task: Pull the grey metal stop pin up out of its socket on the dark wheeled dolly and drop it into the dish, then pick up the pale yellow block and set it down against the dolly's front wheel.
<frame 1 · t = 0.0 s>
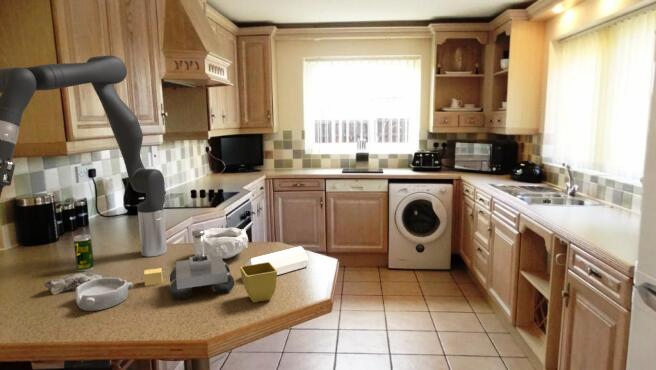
bowl: (221, 258, 155), on the worktop
flower pot: (259, 299, 118), on the worktop
pin: (200, 266, 124), point 7 cm above the worktop, touching dolly
dolly: (201, 288, 126), on the worktop
dish: (103, 302, 118), on the worktop
mineral rock: (75, 288, 128), on the worktop
white faceted prism: (277, 272, 139), on the worktop
pale yellow block: (153, 283, 131), on the worktop
beer can: (85, 269, 144), on the worktop
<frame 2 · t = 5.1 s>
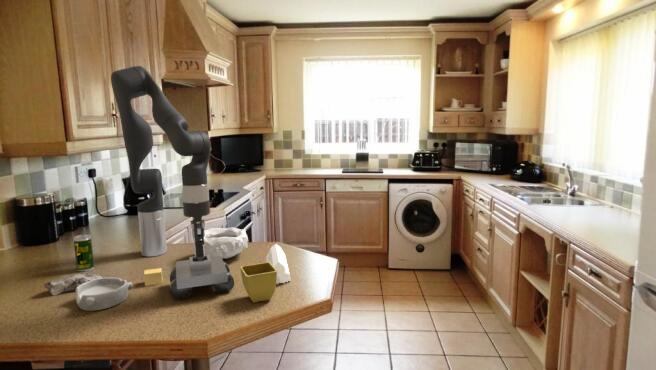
hand: (199, 255, 124), 11 cm above the worktop, tool pointing down, fingers closed on pin, 2 cm apart
pin: (200, 266, 125), point 7 cm above the worktop, touching dolly, gripper
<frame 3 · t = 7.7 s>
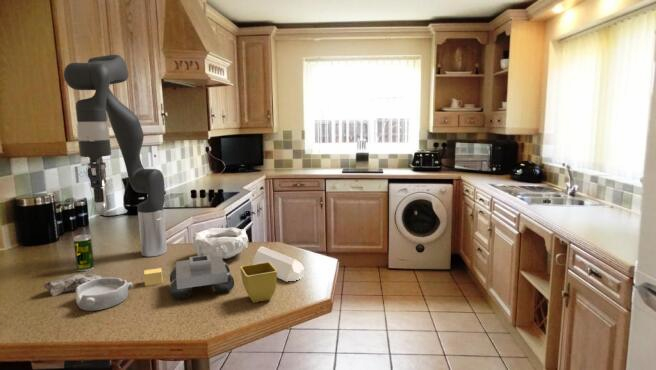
hand: (100, 200, 114), 29 cm above the worktop, tool pointing down, fingers closed on pin, 2 cm apart
pin: (101, 213, 115), point 26 cm above the worktop, touching gripper
when the fingers open (8 cm above the worktop, at t = 10.6 s): pin stays where it is, resting on dish.
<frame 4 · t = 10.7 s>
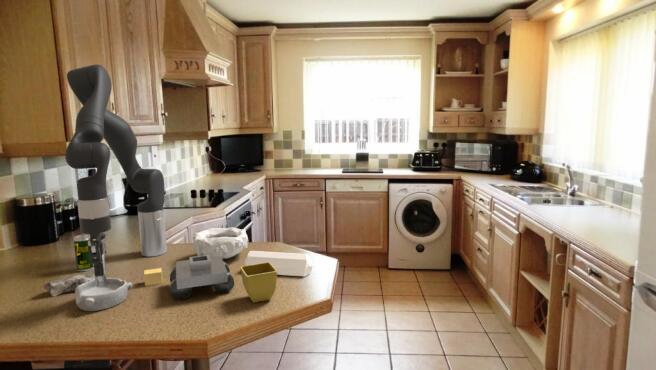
hand: (100, 273, 117), 8 cm above the worktop, tool pointing down, fingers open, 3 cm apart
pin: (101, 285, 117), point 5 cm above the worktop, touching dish
dish: (103, 302, 118), on the worktop, touching pin
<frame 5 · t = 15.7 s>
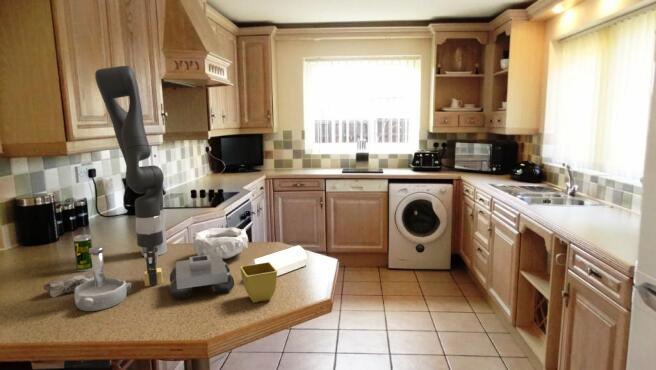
hand: (153, 281, 131), 0 cm above the worktop, tool pointing down, fingers closed on pale yellow block, 4 cm apart
pale yellow block: (153, 282, 131), on the worktop, touching gripper
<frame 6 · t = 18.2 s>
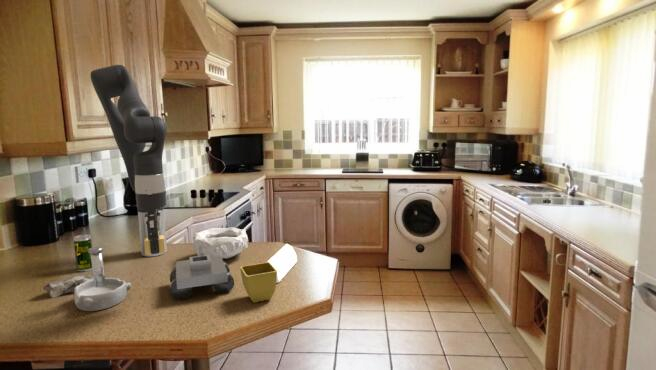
hand: (155, 250, 115), 15 cm above the worktop, tool pointing down, fingers closed on pale yellow block, 4 cm apart
pale yellow block: (155, 251, 115), point 15 cm above the worktop, touching gripper
when the fingers open (2 cm above the worktop, at t = 20.5 s): pale yellow block drops 1 cm, on the worktop.
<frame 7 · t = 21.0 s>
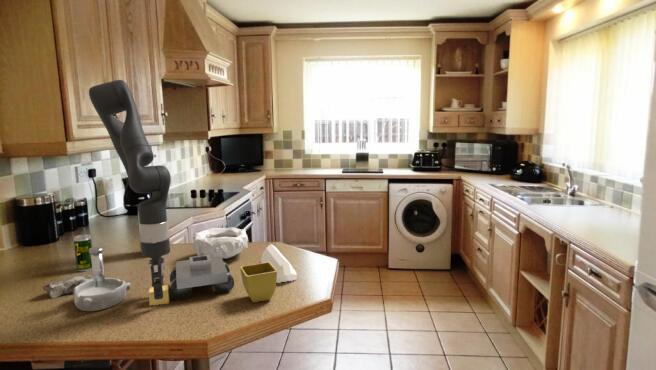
hand: (159, 292, 116), 3 cm above the worktop, tool pointing down, fingers open, 8 cm apart
pale yellow block: (159, 302, 117), on the worktop
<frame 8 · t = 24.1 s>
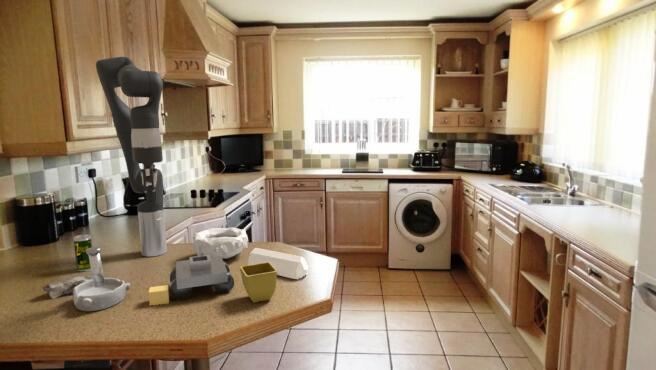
hand: (151, 202, 115), 28 cm above the worktop, tool pointing down, fingers open, 8 cm apart
at the end: pin 0.1 cm from the dish (horizontally); pin point 4.8 cm above the worktop; pale yellow block 0.3 cm from the target spot, on the worktop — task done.
